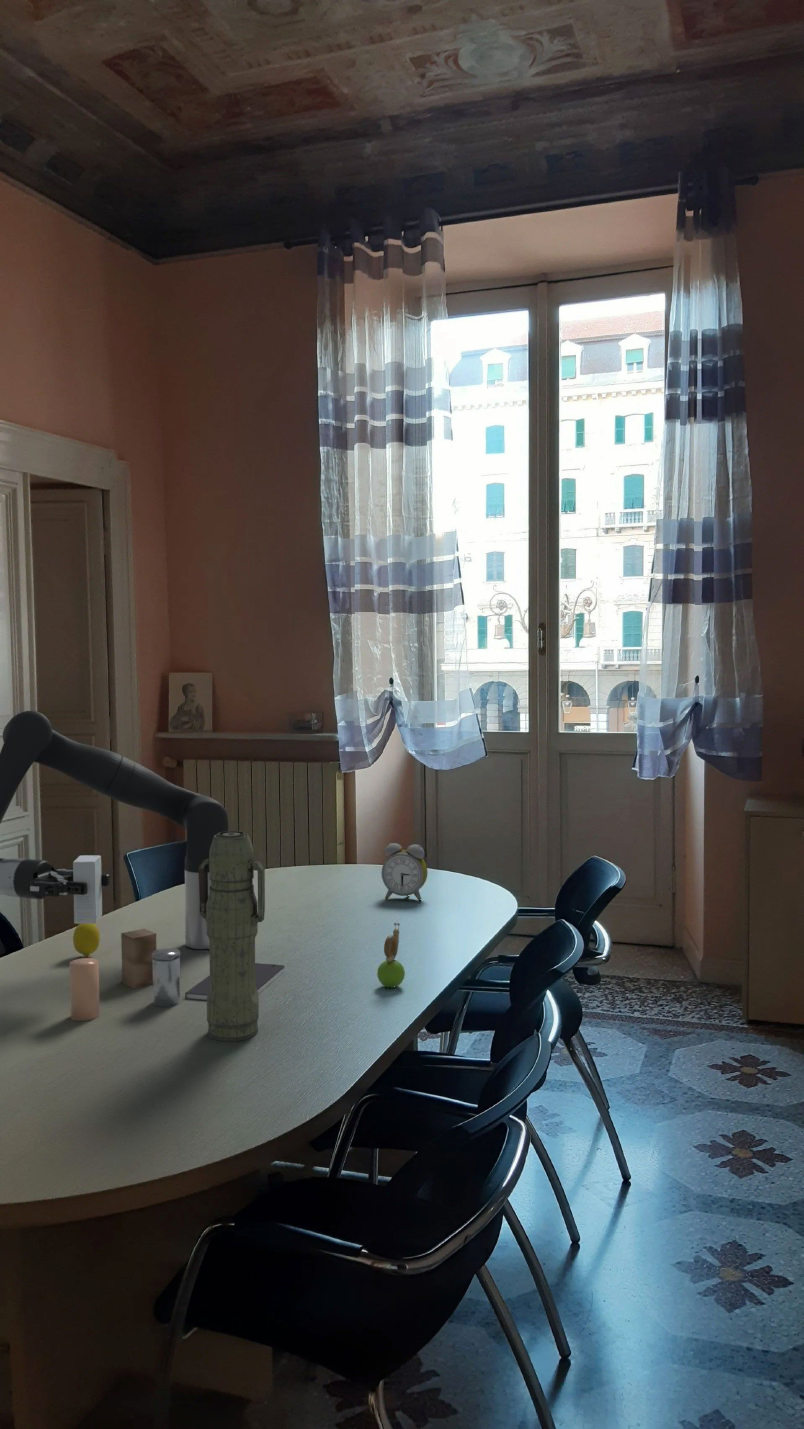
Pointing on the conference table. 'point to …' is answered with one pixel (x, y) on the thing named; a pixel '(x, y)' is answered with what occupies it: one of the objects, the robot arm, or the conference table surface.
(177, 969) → the grey tin
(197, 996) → the notebook
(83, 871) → the skincare box
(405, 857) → the alarm clock
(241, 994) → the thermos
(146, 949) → the walnut block
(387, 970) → the snail figurine
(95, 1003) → the peach rounded cylinder
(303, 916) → the conference table surface
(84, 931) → the lemon
